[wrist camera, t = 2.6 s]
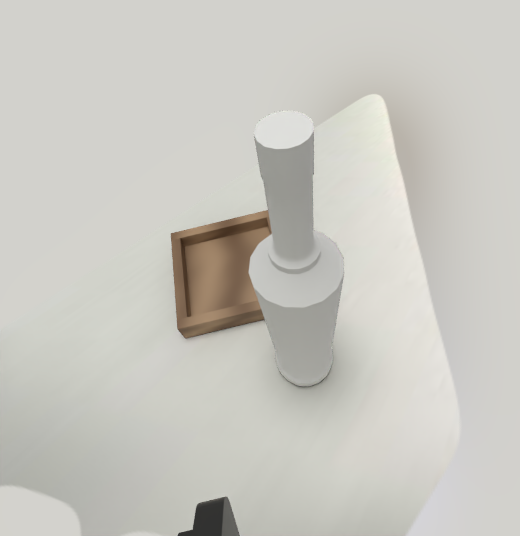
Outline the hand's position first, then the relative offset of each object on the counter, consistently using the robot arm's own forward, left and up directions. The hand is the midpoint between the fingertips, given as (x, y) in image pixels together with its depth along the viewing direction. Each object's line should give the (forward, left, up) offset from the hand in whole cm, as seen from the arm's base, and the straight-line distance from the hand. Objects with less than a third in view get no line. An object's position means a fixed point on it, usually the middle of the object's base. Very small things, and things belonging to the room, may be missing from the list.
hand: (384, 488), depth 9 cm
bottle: (0, +10, -22) cm, 24 cm away
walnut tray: (-5, +21, -22) cm, 31 cm away
